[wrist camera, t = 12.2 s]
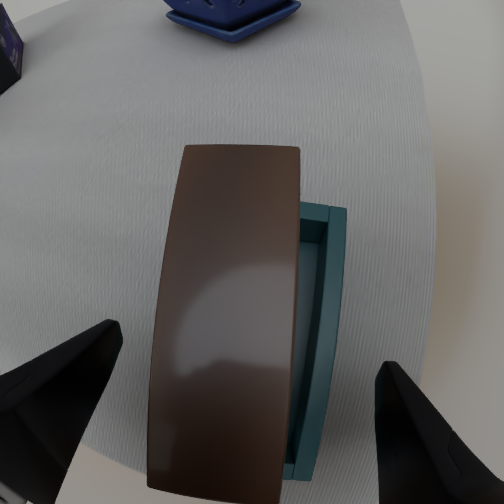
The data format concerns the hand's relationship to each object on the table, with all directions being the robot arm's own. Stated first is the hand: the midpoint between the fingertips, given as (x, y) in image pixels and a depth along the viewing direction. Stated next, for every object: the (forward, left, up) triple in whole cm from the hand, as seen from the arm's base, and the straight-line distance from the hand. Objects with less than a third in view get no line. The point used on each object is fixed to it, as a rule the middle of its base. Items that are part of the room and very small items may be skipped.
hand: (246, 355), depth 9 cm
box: (+47, +33, -9) cm, 58 cm away
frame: (+1, 0, -8) cm, 8 cm away
